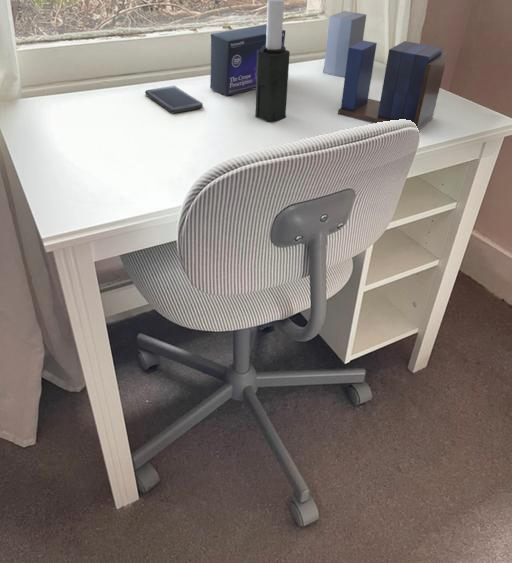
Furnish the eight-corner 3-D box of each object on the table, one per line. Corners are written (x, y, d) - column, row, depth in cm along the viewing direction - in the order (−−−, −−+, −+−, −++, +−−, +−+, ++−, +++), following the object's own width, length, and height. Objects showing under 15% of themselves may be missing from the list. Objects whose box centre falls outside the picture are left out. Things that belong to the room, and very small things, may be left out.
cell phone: (174, 88, 121) (173, 85, 121) (204, 107, 112) (204, 104, 112) (144, 93, 118) (143, 90, 117) (172, 113, 109) (172, 110, 108)
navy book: (367, 101, 115) (376, 42, 108) (353, 111, 111) (362, 50, 103) (354, 98, 117) (363, 40, 109) (340, 107, 112) (348, 47, 105)
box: (228, 97, 118) (228, 39, 111) (209, 89, 122) (208, 33, 114) (283, 82, 127) (286, 28, 120) (263, 75, 131) (265, 22, 124)
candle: (252, 116, 110) (256, -23, 94) (269, 110, 113) (275, -26, 97) (271, 123, 107) (277, -19, 92) (287, 116, 110) (297, -22, 94)
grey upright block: (358, 69, 137) (366, 14, 129) (344, 77, 132) (352, 20, 124) (337, 65, 140) (344, 10, 132) (323, 72, 134) (329, 16, 126)
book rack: (432, 118, 112) (449, 47, 103) (415, 133, 105) (432, 58, 96) (358, 100, 119) (368, 33, 110) (337, 113, 112) (346, 42, 103)
